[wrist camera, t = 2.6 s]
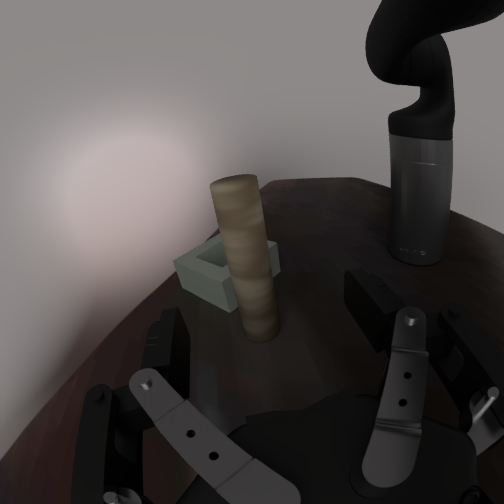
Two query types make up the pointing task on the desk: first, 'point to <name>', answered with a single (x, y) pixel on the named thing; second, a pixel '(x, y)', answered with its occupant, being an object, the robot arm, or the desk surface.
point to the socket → (214, 272)
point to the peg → (247, 253)
